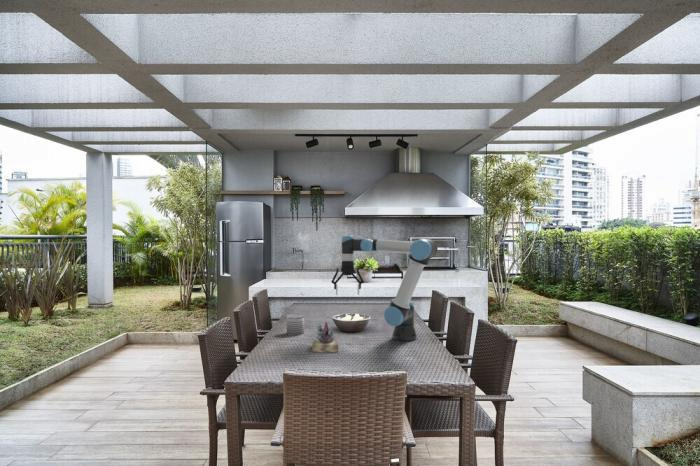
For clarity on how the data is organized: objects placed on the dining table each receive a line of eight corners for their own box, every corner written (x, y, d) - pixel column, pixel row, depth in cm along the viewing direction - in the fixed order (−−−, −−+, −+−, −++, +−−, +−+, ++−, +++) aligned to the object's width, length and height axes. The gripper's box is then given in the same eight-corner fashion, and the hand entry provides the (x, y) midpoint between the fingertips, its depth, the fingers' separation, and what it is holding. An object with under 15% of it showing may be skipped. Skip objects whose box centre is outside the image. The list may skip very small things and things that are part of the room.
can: (307, 334, 308) (307, 315, 308) (291, 336, 302) (291, 317, 302) (299, 331, 318) (299, 313, 318) (283, 333, 311) (283, 314, 311)
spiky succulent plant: (335, 339, 262) (322, 321, 264) (320, 351, 264) (307, 333, 265) (339, 335, 273) (327, 318, 275) (324, 346, 275) (312, 329, 276)
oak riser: (337, 345, 276) (337, 338, 276) (338, 352, 261) (338, 344, 261) (313, 346, 275) (313, 339, 275) (312, 352, 260) (312, 344, 260)
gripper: (366, 260, 303) (366, 293, 303) (327, 260, 302) (327, 293, 302) (368, 260, 296) (368, 295, 296) (327, 260, 294) (327, 295, 294)
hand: (347, 294), depth 299 cm, fingers open, 13 cm apart
